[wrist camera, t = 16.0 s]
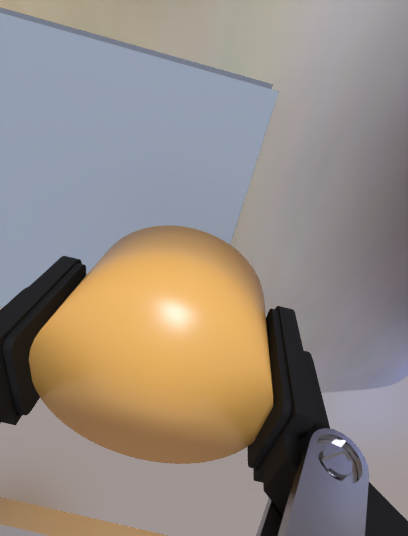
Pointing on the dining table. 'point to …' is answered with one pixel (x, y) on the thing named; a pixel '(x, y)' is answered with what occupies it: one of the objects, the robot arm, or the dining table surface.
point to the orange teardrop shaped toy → (160, 350)
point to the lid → (113, 148)
